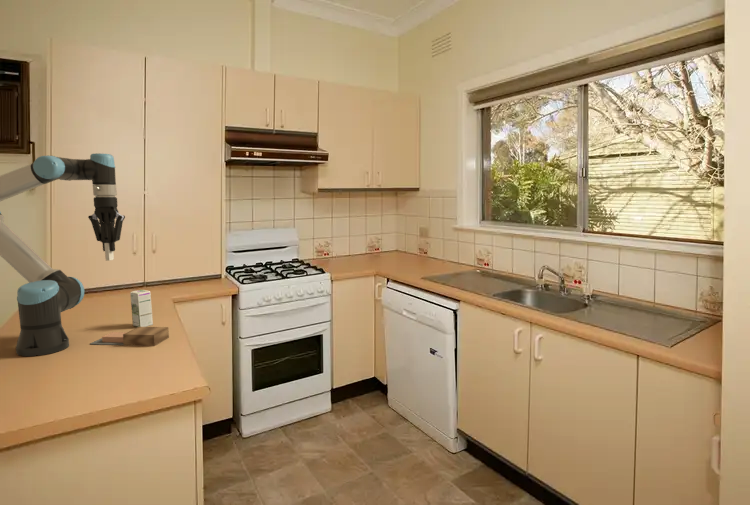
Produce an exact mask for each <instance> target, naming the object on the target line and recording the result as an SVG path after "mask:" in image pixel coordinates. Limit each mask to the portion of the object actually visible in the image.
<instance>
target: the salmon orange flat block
mask: <svg viewBox="0 0 750 505" xmlns="http://www.w3.org/2000/svg"><path fill="white" fill-rule="evenodd" d="M127 332H128V331H127ZM127 332H123V331H122V332H121V331H112V332H109V333H107V334H105V335H103V336H101V338H102V342H118V343H124V342H123V334H125V333H127Z"/></svg>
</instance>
